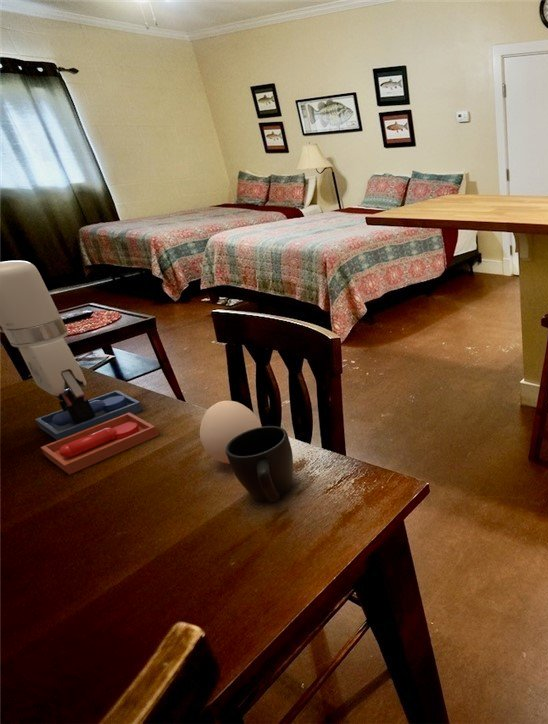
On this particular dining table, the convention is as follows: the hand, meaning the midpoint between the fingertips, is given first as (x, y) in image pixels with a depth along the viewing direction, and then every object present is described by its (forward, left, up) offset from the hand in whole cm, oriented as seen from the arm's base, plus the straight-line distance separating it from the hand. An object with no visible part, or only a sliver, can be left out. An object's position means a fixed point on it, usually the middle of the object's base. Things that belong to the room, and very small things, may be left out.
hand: (81, 417), depth 93 cm
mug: (+5, -53, -1) cm, 53 cm away
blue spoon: (+2, 0, 0) cm, 2 cm away
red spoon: (-1, -13, -1) cm, 13 cm away
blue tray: (+1, 0, -1) cm, 2 cm away
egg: (+8, -39, -1) cm, 40 cm away
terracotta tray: (-2, -13, -1) cm, 13 cm away
